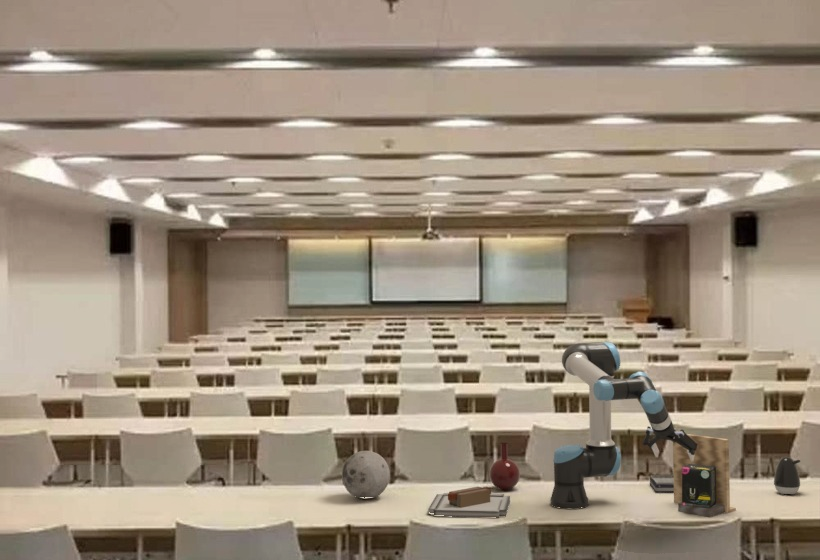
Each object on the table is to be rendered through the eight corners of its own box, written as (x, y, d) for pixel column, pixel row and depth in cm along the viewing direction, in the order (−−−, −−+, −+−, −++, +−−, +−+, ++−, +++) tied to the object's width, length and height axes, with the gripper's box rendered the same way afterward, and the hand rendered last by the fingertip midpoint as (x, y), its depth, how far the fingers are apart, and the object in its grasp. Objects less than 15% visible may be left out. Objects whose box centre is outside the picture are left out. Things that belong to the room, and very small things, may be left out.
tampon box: (681, 505, 385) (681, 467, 385) (688, 500, 393) (687, 463, 393) (710, 508, 379) (710, 470, 379) (716, 503, 387) (716, 465, 387)
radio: (655, 481, 420) (648, 471, 440) (655, 494, 420) (648, 484, 440) (715, 481, 418) (705, 471, 438) (715, 494, 418) (705, 483, 438)
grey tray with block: (505, 520, 383) (505, 500, 383) (427, 518, 388) (427, 498, 388) (510, 501, 413) (510, 483, 413) (437, 500, 418) (437, 482, 417)
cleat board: (658, 506, 396) (657, 436, 396) (682, 500, 406) (681, 431, 406) (712, 517, 378) (710, 443, 378) (735, 510, 388) (734, 438, 388)
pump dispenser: (798, 497, 408) (797, 460, 407) (771, 494, 413) (771, 457, 413) (803, 492, 416) (802, 455, 416) (776, 489, 422) (776, 453, 422)
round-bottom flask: (483, 490, 432) (482, 443, 432) (501, 485, 442) (500, 439, 442) (508, 494, 424) (507, 447, 424) (526, 488, 434) (525, 442, 434)
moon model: (391, 493, 431) (390, 446, 430) (388, 503, 411) (387, 455, 410) (344, 493, 431) (343, 447, 431) (340, 504, 411) (339, 455, 411)
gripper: (625, 428, 370) (640, 460, 383) (692, 434, 356) (705, 468, 369) (630, 411, 374) (645, 444, 387) (697, 417, 360) (710, 451, 373)
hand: (675, 456), depth 378 cm, fingers open, 13 cm apart
